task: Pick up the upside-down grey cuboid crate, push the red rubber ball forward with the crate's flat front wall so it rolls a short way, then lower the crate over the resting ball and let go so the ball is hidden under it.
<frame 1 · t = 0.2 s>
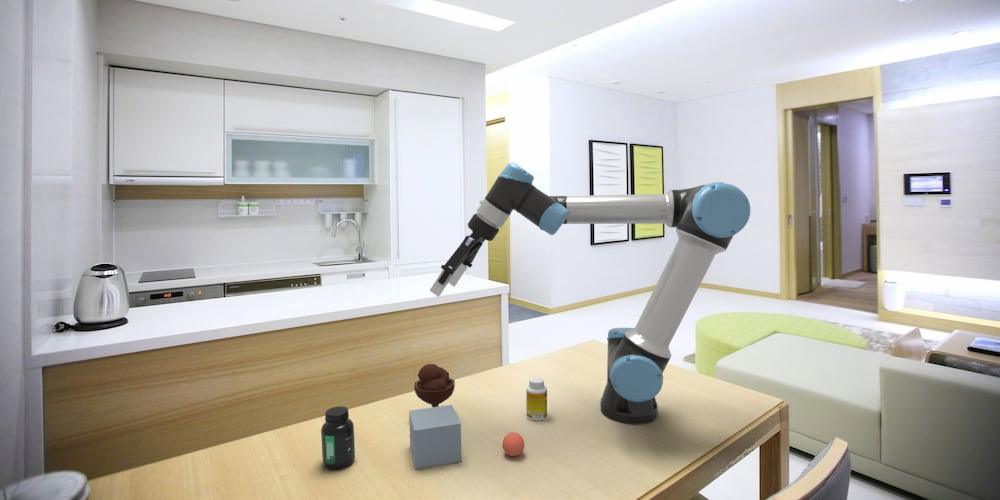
hand: (442, 288, 120), 35 cm above the table, tool tilted 35°, fingers open, 13 cm apart
supplement bottle 2: (536, 417, 125), on the table
ice cream bowl: (435, 418, 125), on the table
grey cuboid crate: (435, 453, 107), on the table
ball: (513, 444, 106), on the table
supplement bottle: (339, 463, 104), on the table
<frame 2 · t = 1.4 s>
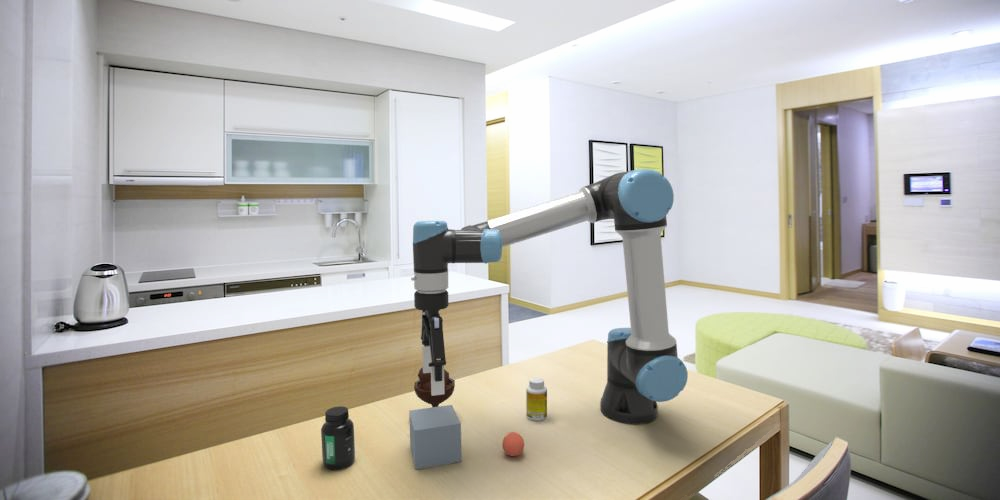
hand: (433, 382, 105), 17 cm above the table, tool pointing down, fingers open, 13 cm apart
nothing on the table moved.
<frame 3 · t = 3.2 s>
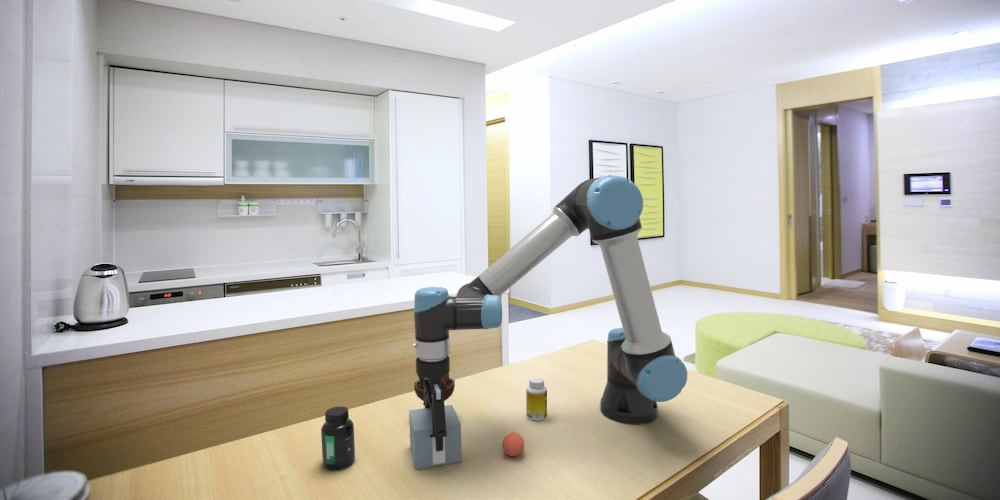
hand: (435, 450, 107), 1 cm above the table, tool pointing down, fingers closed on grey cuboid crate, 10 cm apart
grey cuboid crate: (435, 453, 107), on the table, touching gripper
everything else where it was.
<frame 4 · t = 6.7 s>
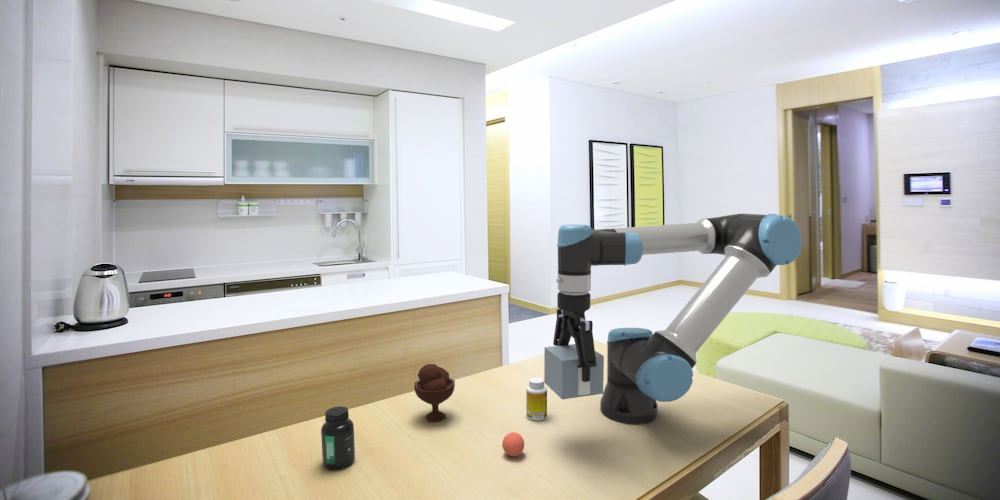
hand: (572, 385, 109), 15 cm above the table, tool pointing down, fingers closed on grey cuboid crate, 10 cm apart
grey cuboid crate: (572, 388, 109), point 14 cm above the table, touching gripper
everything else where it was.
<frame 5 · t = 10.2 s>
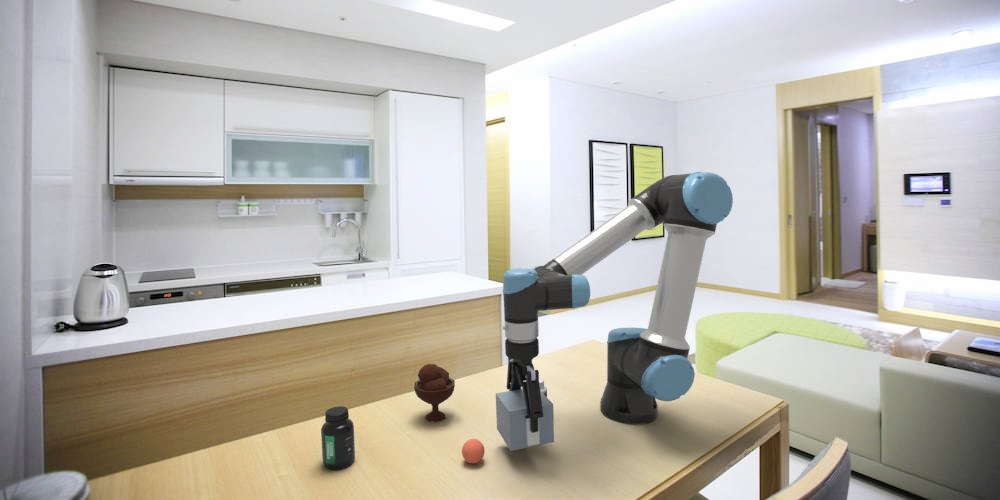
hand: (524, 432, 106), 5 cm above the table, tool pointing down, fingers closed on grey cuboid crate, 10 cm apart
grey cuboid crate: (524, 435, 106), point 4 cm above the table, touching gripper
ball: (473, 451, 103), on the table
everything else where it was.
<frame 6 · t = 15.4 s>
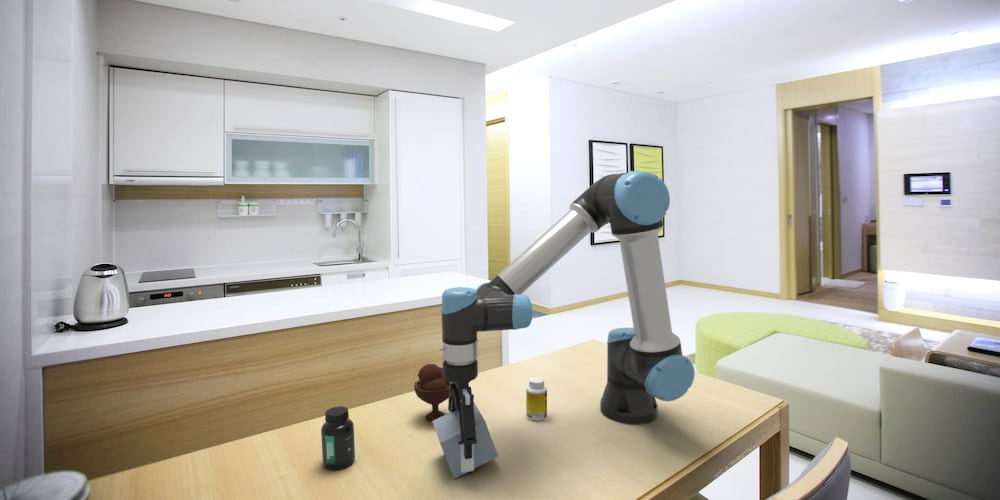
hand: (461, 457, 103), 1 cm above the table, tool pointing down, fingers closed on grey cuboid crate, 10 cm apart
grey cuboid crate: (470, 455, 103), point 2 cm above the table, tilted 19°, touching ball, gripper
ball: (478, 450, 103), on the table, touching grey cuboid crate
everything else where it was.
when the fingers open (1 cm above the table, at t = 15.9 s): grey cuboid crate drops 2 cm, on the table.
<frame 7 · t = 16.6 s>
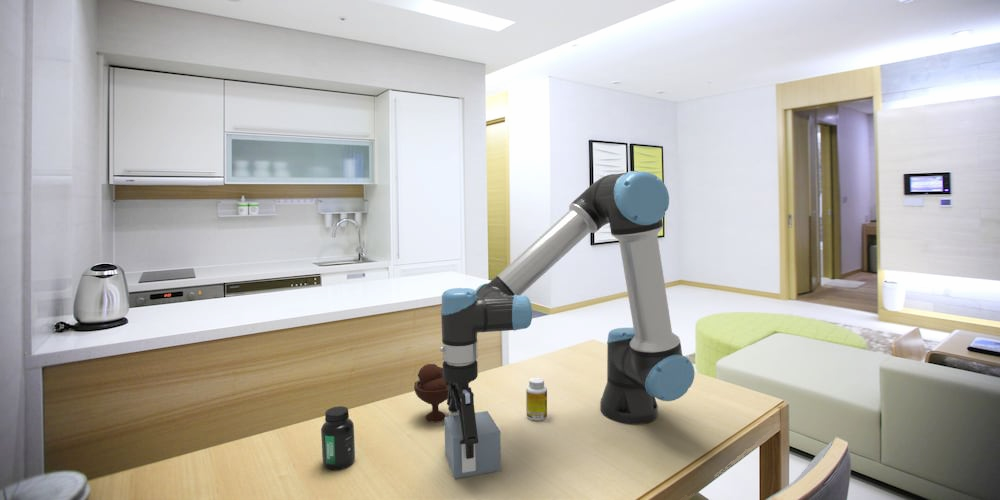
hand: (461, 454, 102), 2 cm above the table, tool pointing down, fingers open, 13 cm apart
grey cuboid crate: (472, 461, 103), on the table
ball: (478, 450, 103), on the table
everything else where it was.
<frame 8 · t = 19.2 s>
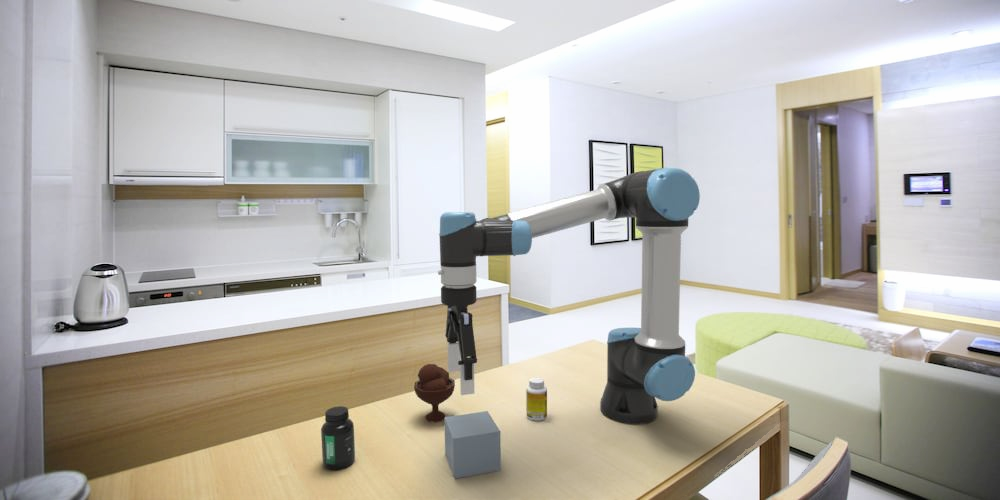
hand: (460, 381, 101), 19 cm above the table, tool pointing down, fingers open, 13 cm apart
nothing on the table moved.
at the end: ball 1.5 cm from the grey cuboid crate (horizontally); grey cuboid crate on the table; ball moved 8.2 cm from its start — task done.
